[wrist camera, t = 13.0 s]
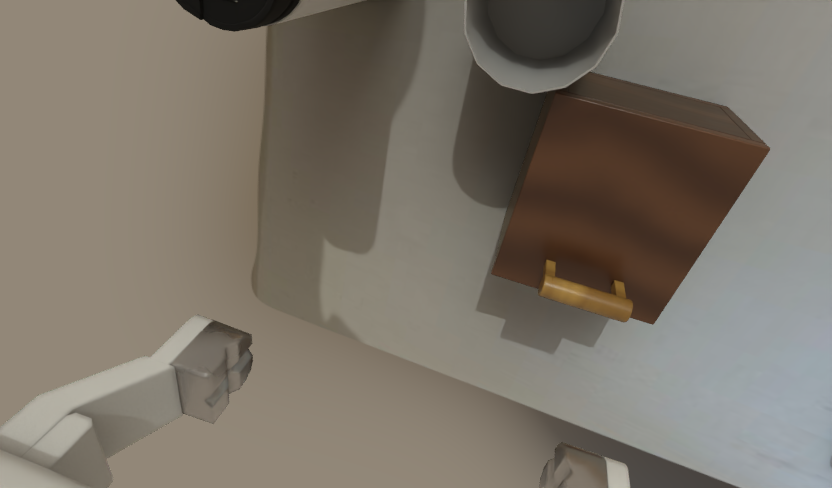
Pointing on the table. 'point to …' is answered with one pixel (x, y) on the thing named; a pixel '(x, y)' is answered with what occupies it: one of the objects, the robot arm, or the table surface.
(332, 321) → the table surface
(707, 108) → the box
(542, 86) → the cup
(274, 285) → the table surface
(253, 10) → the travel mug
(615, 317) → the lid
